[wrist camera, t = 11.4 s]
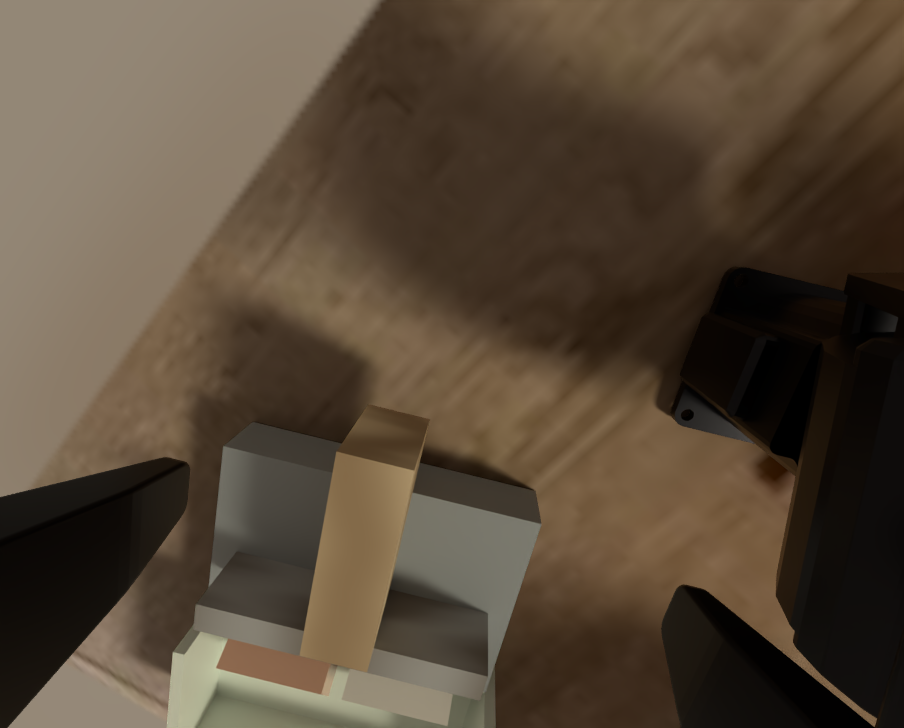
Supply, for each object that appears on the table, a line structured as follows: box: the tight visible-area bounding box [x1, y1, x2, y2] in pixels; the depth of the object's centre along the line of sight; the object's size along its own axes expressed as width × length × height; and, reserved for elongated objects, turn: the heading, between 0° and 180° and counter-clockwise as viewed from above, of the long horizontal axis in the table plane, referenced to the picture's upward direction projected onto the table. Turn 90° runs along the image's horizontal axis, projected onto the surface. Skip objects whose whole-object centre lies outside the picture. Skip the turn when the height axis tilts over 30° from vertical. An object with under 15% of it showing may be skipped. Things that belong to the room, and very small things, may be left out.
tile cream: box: [342, 669, 453, 726], centre depth 22 cm, size 4×4×2 cm
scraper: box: [193, 404, 488, 701], centre depth 18 cm, size 11×9×4 cm
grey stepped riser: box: [209, 422, 541, 693], centre depth 22 cm, size 13×9×2 cm
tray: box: [167, 624, 496, 728], centre depth 23 cm, size 14×7×4 cm, turn 77°
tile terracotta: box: [216, 638, 337, 697], centre depth 22 cm, size 4×4×2 cm
